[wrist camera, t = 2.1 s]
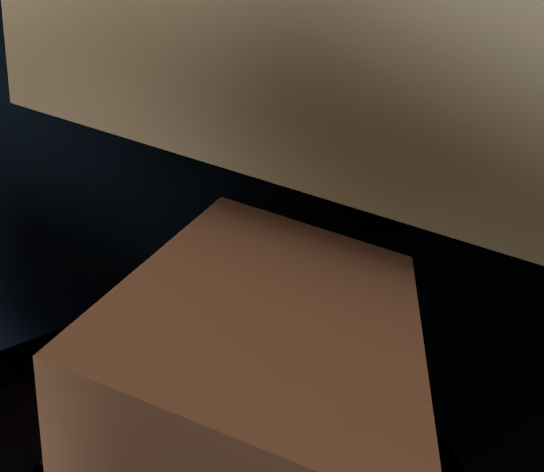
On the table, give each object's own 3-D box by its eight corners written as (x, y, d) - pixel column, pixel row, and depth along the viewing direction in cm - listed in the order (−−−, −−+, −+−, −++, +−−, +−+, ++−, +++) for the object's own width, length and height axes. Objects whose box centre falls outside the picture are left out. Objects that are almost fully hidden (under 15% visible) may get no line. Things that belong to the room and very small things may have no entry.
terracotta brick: (316, 465, 11) (268, 744, 6) (185, 412, 11) (59, 636, 7) (411, 254, 8) (448, 525, 3) (223, 195, 8) (32, 356, 4)
